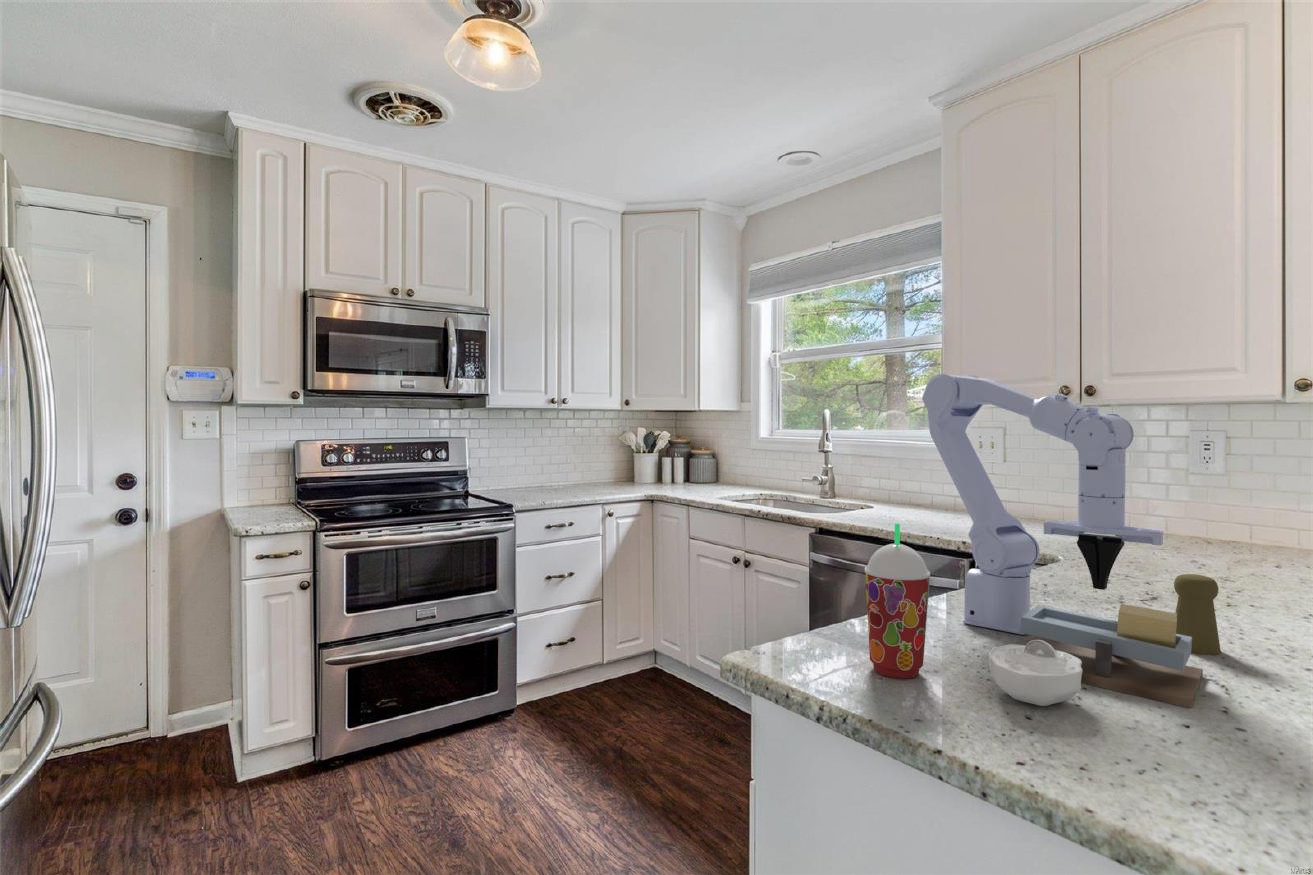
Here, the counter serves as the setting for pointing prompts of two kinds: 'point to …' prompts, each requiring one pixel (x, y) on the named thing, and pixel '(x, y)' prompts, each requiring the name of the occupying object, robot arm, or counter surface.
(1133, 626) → the block
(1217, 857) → the counter surface
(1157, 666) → the stand
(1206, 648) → the cork
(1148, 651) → the beam
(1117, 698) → the counter surface
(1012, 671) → the cell model
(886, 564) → the smoothie
